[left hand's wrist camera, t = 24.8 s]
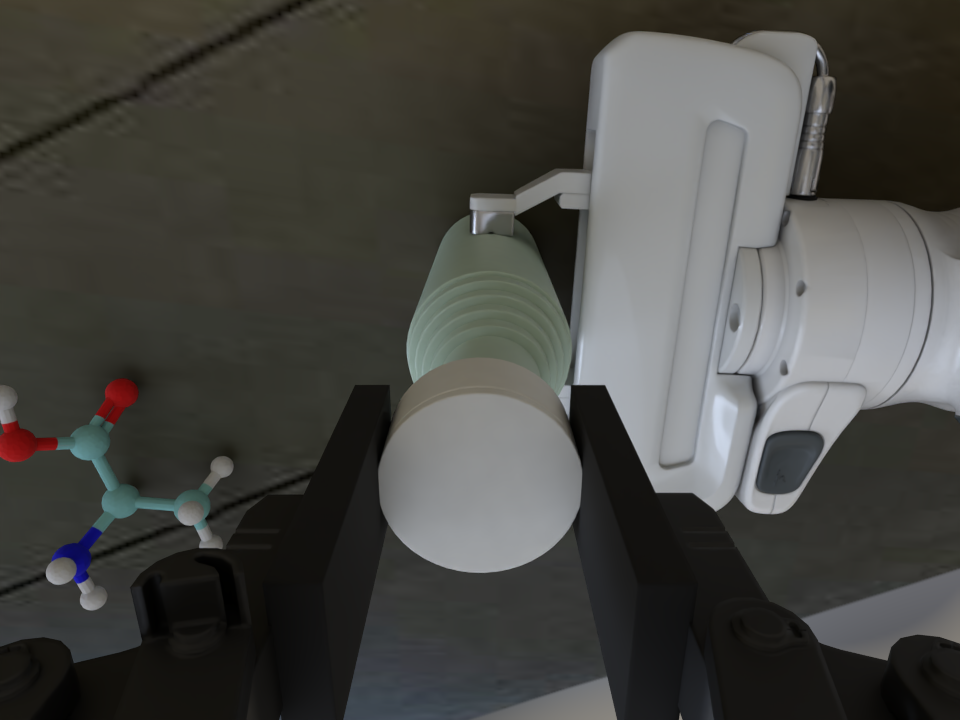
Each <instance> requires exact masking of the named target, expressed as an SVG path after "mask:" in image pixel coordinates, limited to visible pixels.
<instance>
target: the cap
mask: <svg viewBox="0 0 960 720" xmlns="http://www.w3.org/2000/svg"><path fill="white" fill-rule="evenodd" d="M378 480H379V496H380V506H381V509H382V511H383V514H384V516H385V518H386V520H387V522H388V524H389V525H390V527H391V528H392V530H393V531H394V533H395V534H396V535H397V536H398V537H399V538H400V540H401V541H402V542H403V543H404V544H405V545H407V546H408V547H409V548H410V549H411V550H412V551H414V552H415V553H417V554H418V555H420V556H421V557H423V558H425V559H427V560H429V561H431V562H433V563H435V564H438V565H440V566H443V567H446V568H450V569H454V570H458V571H465V572H477V573H486V572H497V571H502V570H507V569H511V568H514V567H518V566H521V565H523V564H525V563H528V562H530V561H532V560H534V559H536V558H537V557H539V556H541V555H543V554H544V553H545V552H547V551H548V550H549V549H551V548H552V547H553V546H554V545H555V544H556V543H557V542H558V541H559V540H560V539H561V538H562V537H563V536H564V535H565V533H566V532H567V531H568V529H569V528H570V526H571V525H572V523H573V521H574V519H575V518H576V515H577V513H578V510H579V508H580V502H581V487H582V464H581V460H580V456H579V453H578V449H577V446H576V443H575V439H574V436H573V432H572V429H571V426H570V422H569V419H568V416H567V413H566V411H565V408H564V406H563V404H562V402H561V401H560V399H559V397H558V396H557V395H556V393H555V392H554V391H553V389H552V388H551V387H550V386H549V385H548V384H547V383H546V382H545V381H544V380H542V379H541V378H540V377H539V376H537V375H536V374H535V373H533V372H531V371H529V370H528V369H526V368H524V367H522V366H519V365H517V364H515V363H512V362H508V361H505V360H501V359H494V358H479V357H476V358H466V359H460V360H456V361H452V362H449V363H446V364H443V365H441V366H439V367H437V368H435V369H433V370H431V371H429V372H428V373H426V374H425V375H423V376H422V377H420V378H419V379H418V380H417V381H416V382H415V383H414V384H413V385H411V387H410V388H409V389H408V390H407V391H406V393H405V394H404V395H403V397H402V398H401V400H400V402H399V403H398V405H397V407H396V410H395V412H394V414H393V418H392V421H391V425H390V428H389V431H388V435H387V438H386V442H385V445H384V449H383V452H382V455H381V459H380V462H379V466H378Z"/></svg>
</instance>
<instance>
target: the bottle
mask: <svg viewBox="0 0 960 720" xmlns="http://www.w3.org/2000/svg"><path fill="white" fill-rule="evenodd" d="M571 356H572V339H571V334H570V329H569V326H568V323H567V320H566V318H565V315H564V313H563V310H562V308H561V305H560V303H559V300H558V298H557V295H556V293H555V290H554V288H553V285H552V283H551V280H550V278H549V275H548V273H547V270H546V268H545V266H544V263H543V261H542V258H541V256H540V253H539V251H538V248H537V246H536V243H535V241H534V239H533V237H532V235H531V234H530V232H529V231H528V230H527V229H526V227H525V226H524V225H523V224H521V223H520V222H519V221H518V220H516V219H514V230H513V236H502V235H496V234H494V233H493V232H492V231H491V232H489V233H488V234H482V235H477V234H471V233H470V215H468V216H466V217H464V218H462V219H460V220H459V221H458V222H456V223H455V224H454V225H453V226H452V227H451V228H450V229H449V230H448V232H447V233H446V234H445V236H444V238H443V240H442V242H441V244H440V247H439V250H438V252H437V255H436V258H435V260H434V263H433V266H432V268H431V271H430V274H429V276H428V279H427V282H426V284H425V287H424V290H423V292H422V295H421V298H420V300H419V303H418V306H417V309H416V311H415V314H414V317H413V319H412V322H411V325H410V328H409V332H408V338H407V359H408V365H409V369H410V373H411V377H412V380H413V383H415V382H416V381H417V380H418V379H419V378H420V377H422V376H423V375H425V374H426V373H428V372H429V371H431V370H433V369H435V368H437V367H439V366H441V365H443V364H446V363H449V362H452V361H456V360H460V359H466V358H476V357H479V358H494V359H501V360H505V361H508V362H512V363H515V364H517V365H519V366H522V367H524V368H526V369H528V370H529V371H531V372H533V373H535V374H536V375H537V376H539V377H540V378H541V379H542V380H544V381H545V382H546V383H547V384H548V385H549V386H550V387H551V388H552V389H553V391H554V392H555V393H556V395H557V396H559V394H560V392H561V390H562V389H563V387H564V384H565V382H566V379H567V376H568V372H569V368H570V363H571Z"/></svg>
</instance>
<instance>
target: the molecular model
mask: <svg viewBox="0 0 960 720" xmlns="http://www.w3.org/2000/svg"><path fill="white" fill-rule="evenodd" d="M138 393H139V392H138V388H137V386H136V385H135V383H134V382H132V381H130V380H128V379H124V378H123V379H116V380H114V381H112V382H111V383H110V384H109V385H108V386H107V387H106V391H105V396H106V400H105V401H104V403H103V404H102V406H101V407H100V409H99V410H98V412H97V413H96V415H95V416H94V417H93V419H92V420H91V422H90V423H89V425H84V426H81V427H80V428H78V429H76V430H75V431H74V432H73V433H72V435H71V437H57V438H35V436H34V435H33V433H31V432H30V431H28V430H25V429H20V427H19V424H18V421H17V418H16V415H15V412H14V409H13V407H14V405H15V404H16V403H17V399H18V396H17V393H16V392H15V390H14V389H13V388H11V387H9V386H6V385H0V420H1V423H2V426H3V429H4V432H5V433H3V434H2V435H1V436H0V456H1V457H2V458H3V459H5V460H7V461H10V462H20V461H24V460H26V459H28V458H29V457H31V456H32V455H33V454H34V452H35V451H41V450H61V449H70V450H71V452H72V453H73V454H74V456H76V457H78V458H80V459H83V460H92V461H93V463H94V465H95V467H96V469H97V471H98V473H99V474H100V476H101V478H102V480H103V482H104V484H105V486H106V487H107V489H108V490H107V491H106V492H105V494H104V496H103V498H102V508H103V510H104V511H105V512H104V513H103V514H102V515H101V517H100V518H99V519H98V520H97V521H96V523H95V524H94V525H93V526H92V527H91V528H90V530H89V531H88V532H87V533H86V534H85V536H84V537H83V538H82V539H81V540H80V541H79V543H72V544H67V545H64V546H62V547H61V548H59V549H58V550H57V551H56V552H55V554H54V555H53V558H52V562H51V563H50V564H49V565H48V567H47V570H46V577H47V579H48V580H49V581H50V582H51V583H53V584H58V585H60V584H65V583H67V582H69V581H70V580H71V579H72V578H74V580H75V582H76V583H77V585H78V586H79V588H80V590H81V591H82V594H81V597H80V603H81V605H82V606H83V608H85V609H87V610H96V609H98V608H100V607H102V606H103V605H104V604H105V602H106V600H107V592H106V590H105V589H104V588H103V587H101V586H97V585H94V583H93V582H92V580H91V578H90V576H89V575H88V573H87V572H86V570H87V568H88V567H89V565H90V562H91V554H90V552H89V549H90V547H91V546H92V545H93V544H94V543H95V541H96V540H97V539H98V538H99V537H100V535H101V534H102V533H103V532H104V530H105V529H106V528H107V527H108V526H109V524H110V523H111V522H112V521H113V520H114V518H125V517H128V516H130V515H132V514H133V513H134V512H135V511H136V510H137V508H144V509H156V510H168V511H174V514H175V516H176V517H177V519H178V520H179V521H180V522H181V523H183V524H185V525H194V526H195V528H196V530H197V532H198V534H199V536H200V538H201V542H200V545H199V548H220V549H222V547H223V542H222V539H221V538H220V537H219V536H218V535H214V534H212V533H211V530H210V528H209V526H208V524H207V522H206V520H205V517H206V516H207V515H208V513H209V510H210V500H209V498H208V494H209V493H210V492H211V490H212V489H213V488H214V486H215V485H216V484H217V482H218V481H219V480H220V478H223V477H227V476H229V475H230V474H231V473H232V471H233V468H234V465H233V461H232V460H231V459H230V458H228V457H226V456H220V457H217V458H215V459H214V460H213V461H212V463H211V473H210V474H209V476H208V477H207V478H206V480H205V481H204V482H203V484H202V485H201V486H200V488H199V489H198V490H188V491H185V492H183V493H182V494H180V495H179V496H178V497H177V499H176V500H175V499H163V498H151V497H140V494H139V492H138V490H137V489H136V488H135V487H134V486H131V485H128V484H119V482H118V480H117V478H116V476H115V474H114V472H113V470H112V468H111V467H110V465H109V463H108V461H107V459H106V457H105V456H104V454H105V453H106V452H107V450H108V448H109V445H110V437H109V435H108V434H109V432H110V431H111V429H112V428H113V426H114V425H115V423H116V421H117V420H118V418H119V417H120V415H121V414H122V412H123V411H124V409H125V407H128V406H130V405H132V404H133V403H135V401H136V400H137V398H138ZM113 406H114V408H113V409H112V407H113ZM111 409H112V411H111V412H110V410H111ZM109 412H110V414H109V415H108V413H109ZM107 415H108V417H107V419H106V420H105V422H104V423H103V425H102V426H101V427H100V425H101V424H102V422H103V421H104V419H105V418H106V416H107Z"/></svg>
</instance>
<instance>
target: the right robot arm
mask: <svg viewBox="0 0 960 720" xmlns="http://www.w3.org/2000/svg"><path fill="white" fill-rule="evenodd" d="M815 63H816V67H817V76H812V74H813V69H814V64H815ZM836 92H837V79H836V77H834V76H829V65H828V59H827V56H826V53H825V51H824V50H823V48H822V47H821V45H820V44H819V43H818V42H817V41H816V39H814V38H813V37H811V36H810V35H808V34H806V33H803V32H799V31H787V30H754V31H751V32H748V33H745V34H743V35H741V36H739V37H738V38H736V39H735V40H733V41H732V42H731V43H730V44H729V43H724V42H719V41H715V40H709V39H704V38H698V37H692V36H685V35H678V34H669V33H659V32H646V31H633V32H627V33H624V34H622V35H620V36H618V37H616V38H615V39H614V40H612V41H611V42H610V43H609V44H608V45H606V46H605V47H604V48H603V49H602V50H601V51H600V52H599V53H598V55H597V56H596V57H595V58H594V60H593V63H592V69H591V79H590V91H589V103H588V115H587V127H586V139H585V150H584V162H583V169H557V168H556V169H554V170H552V171H550V172H548V173H546V174H545V175H543V176H541V177H539V178H537V179H535V180H534V181H532V182H530V183H528V184H526V185H525V186H523V187H521V188H519V189H517V190H515V191H514V194H491V193H476V194H471V196H470V233H471V234H477V235H482V234H488V233H489V232H491V231H492V232H493V233H494V234H496V235H502V236H513V230H514V216H516V215H518V214H520V213H522V212H524V211H526V210H528V209H530V208H532V207H533V206H535V205H537V204H539V203H541V202H543V201H545V200H547V199H549V198H551V197H553V196H554V200H555V201H556V202H557V203H558V204H559V206H560V207H561V208H564V209H580V210H579V222H578V233H577V245H576V257H575V269H574V281H573V293H572V304H571V316H570V328H569V329H570V334H571V339H572V356H571V363H570V368H569V372H568V376H567V379H566V382H565V384H564V387H563V389H562V390H561V392H560V394H559V396H558V397H559V399H560V401H561V402H562V404H563V406H564V408H565V411H566V413H567V416H568V419H569V412H570V393H571V385H605V386H606V388H607V390H608V392H609V394H610V397H611V399H612V401H613V403H614V405H615V407H616V409H617V411H618V414H619V416H620V418H621V420H622V422H623V424H624V426H625V428H626V431H627V433H628V435H629V437H630V439H631V441H632V443H633V445H634V448H635V450H636V452H637V454H638V456H639V458H640V460H641V463H642V465H643V467H644V469H645V471H646V473H647V475H648V477H649V480H650V482H651V484H652V486H653V488H654V490H655V492H656V493H694V494H695V495H696V496H697V497H699V498H700V499H701V500H703V501H704V502H705V503H707V504H708V505H709V506H711V507H712V508H713V509H714V510H715V511H717V510H719V509H721V508H722V507H723V506H725V505H726V504H727V503H728V502H729V501H730V500H731V499H732V497H733V496H734V494H735V496H736V497H737V498H738V499H739V500H740V501H741V502H742V503H743V505H744V506H745V507H746V508H747V509H748V510H750V511H752V512H755V513H761V514H778V513H782V512H785V511H787V510H788V509H789V508H791V507H792V505H793V504H794V503H795V502H796V501H797V499H798V497H799V496H800V494H801V493H802V491H803V489H804V488H805V486H806V484H807V483H808V481H809V480H810V478H811V476H812V475H813V473H814V472H815V470H816V468H817V467H818V465H819V464H820V462H821V461H822V459H823V458H824V456H825V455H826V453H827V452H828V450H829V449H830V447H831V446H832V445H833V443H834V442H835V440H836V439H837V438H838V436H839V435H840V434H841V432H842V431H843V430H844V429H845V427H846V426H847V425H848V424H849V423H850V421H851V420H852V419H853V418H854V417H855V415H856V414H857V413H858V411H859V410H860V409H861V410H864V409H875V408H879V407H884V406H889V405H894V404H898V403H905V402H921V403H925V404H929V405H932V406H935V407H938V408H941V409H944V410H948V411H954V412H956V415H955V416H954V417H955V418H956V420H957V421H958V422H959V423H960V208H956V209H953V210H949V211H943V212H930V211H925V210H921V209H918V208H916V207H913V206H910V205H907V204H904V203H901V202H895V201H887V200H861V199H833V198H818V197H816V192H817V187H818V182H819V177H820V172H821V167H822V162H823V156H824V150H823V148H824V147H825V143H824V141H825V135H824V134H825V133H826V129H827V128H826V126H827V124H828V119H829V115H830V114H832V111H833V108H834V104H835V99H836ZM786 195H787V196H786Z"/></svg>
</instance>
